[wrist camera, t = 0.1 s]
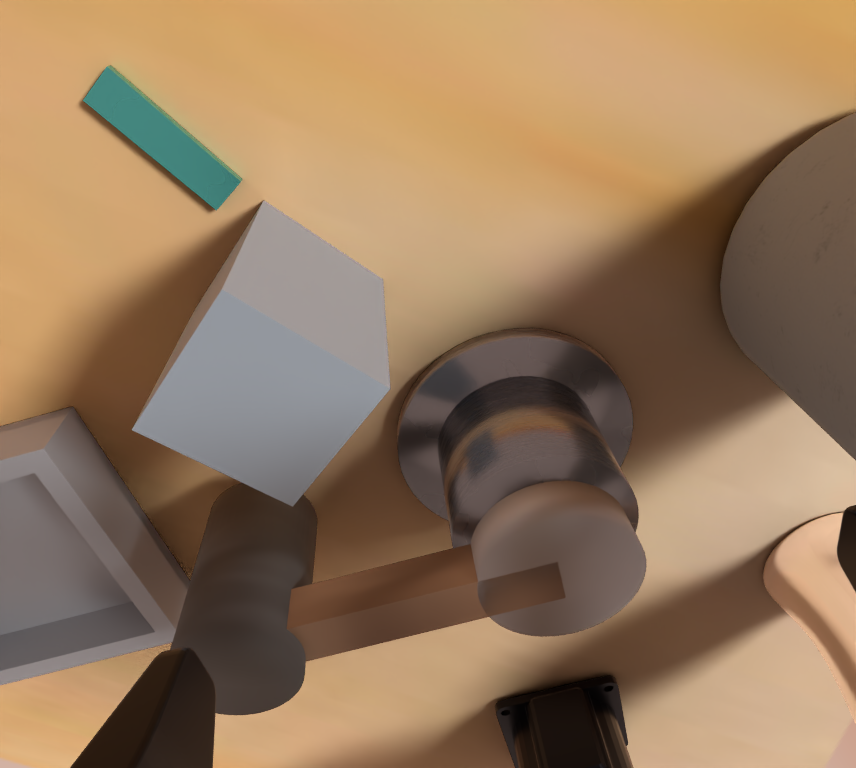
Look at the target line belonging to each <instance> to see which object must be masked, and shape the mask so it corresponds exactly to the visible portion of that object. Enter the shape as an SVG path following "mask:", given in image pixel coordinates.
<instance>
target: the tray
mask: <svg viewBox="0 0 856 768" xmlns="http://www.w3.org/2000/svg"><path fill="white" fill-rule="evenodd" d="M189 584H190V580H189V579H188V577H187V576H186V574H185V573H184V571H183V570H182V568H181V567H180V565H179V564H178V562H177V561H176V559H175V558H174V556H173V555H172V553H171V552H170V550H169V549H168V547H167V546H166V544H165V543H164V541H163V540H162V538H161V537H160V536H159V534H158V533H157V531H156V530H155V528H154V527H153V525H152V524H151V522H150V521H149V519H148V518H147V516H146V515H145V513H144V512H143V510H142V509H141V507H140V506H139V504H138V503H137V501H136V500H135V498H134V497H133V495H132V494H131V492H130V491H129V489H128V488H127V486H126V485H125V483H124V482H123V480H122V479H121V477H120V476H119V474H118V473H117V471H116V470H115V468H114V467H113V465H112V464H111V462H110V461H109V459H108V458H107V456H106V455H105V454H104V452H103V451H102V449H101V448H100V446H99V445H98V443H97V442H96V440H95V439H94V437H93V436H92V434H91V433H90V431H89V430H88V428H87V427H86V425H85V424H84V422H83V421H82V419H81V418H80V416H79V415H78V413H77V412H76V410H75V409H74V407H69V408H65V409H62V410H58V411H55V412H51V413H47V414H44V415H40V416H36V417H33V418H29V419H26V420H22V421H18V422H15V423H11V424H7V425H4V426H0V685H3V684H7V683H11V682H16V681H20V680H24V679H28V678H32V677H36V676H40V675H44V674H48V673H52V672H56V671H60V670H64V669H68V668H72V667H76V666H80V665H84V664H88V663H92V662H96V661H100V660H104V659H108V658H112V657H116V656H120V655H124V654H128V653H132V652H136V651H140V650H144V649H148V648H152V647H156V646H160V645H164V644H168V643H172V642H173V638H174V635H175V632H176V628H177V625H178V621H179V618H180V614H181V611H182V608H183V604H184V601H185V597H186V594H187V590H188V587H189Z"/></svg>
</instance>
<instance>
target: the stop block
mask: <svg viewBox="0 0 856 768" xmlns="http://www.w3.org/2000/svg"><path fill="white" fill-rule="evenodd" d="M389 390H390V375H389V360H388V346H387V331H386V316H385V301H384V286H383V279H382V278H380V277H379V276H377V275H376V274H374V273H373V272H371V271H370V270H368V269H367V268H365V267H364V266H362V265H361V264H359V263H358V262H356V261H355V260H353V259H352V258H350V257H349V256H347V255H346V254H344V253H343V252H341V251H340V250H338V249H337V248H335V247H334V246H332V245H331V244H329V243H327V242H326V241H324V240H323V239H321V238H320V237H318V236H317V235H315V234H314V233H312V232H311V231H309V230H308V229H306V228H305V227H303V226H302V225H300V224H299V223H297V222H296V221H294V220H293V219H291V218H290V217H288V216H287V215H285V214H284V213H282V212H281V211H279V210H278V209H276V208H275V207H273V206H272V205H270V204H269V203H267V202H266V201H263V202H262V204H261V205H260V207H259V209H258V210H257V212H256V213H255V215H254V216H253V218H252V220H251V221H250V223H249V224H248V226H247V228H246V229H245V231H244V232H243V234H242V235H241V237H240V239H239V240H238V242H237V243H236V245H235V247H234V248H233V250H232V251H231V253H230V254H229V256H228V258H227V259H226V261H225V262H224V264H223V266H222V267H221V269H220V270H219V272H218V273H217V275H216V277H215V278H214V280H213V281H212V283H211V285H210V286H209V288H208V289H207V291H206V292H205V294H204V296H203V297H202V299H201V300H200V302H199V304H198V305H197V307H196V308H195V310H194V312H193V314H192V316H191V318H190V320H189V321H188V323H187V325H186V327H185V329H184V331H183V333H182V335H181V337H180V339H179V341H178V342H177V344H176V346H175V348H174V350H173V352H172V354H171V356H170V358H169V360H168V361H167V363H166V365H165V367H164V369H163V371H162V373H161V375H160V377H159V379H158V381H157V382H156V384H155V386H154V388H153V390H152V392H151V394H150V396H149V398H148V400H147V402H146V403H145V405H144V407H143V409H142V411H141V413H140V415H139V417H138V419H137V421H136V422H135V424H134V426H133V428H132V430H133V431H135V432H137V433H139V434H141V435H143V436H145V437H147V438H149V439H152V440H154V441H156V442H158V443H160V444H162V445H164V446H166V447H168V448H170V449H173V450H175V451H177V452H179V453H181V454H183V455H185V456H187V457H189V458H191V459H194V460H196V461H198V462H200V463H202V464H204V465H206V466H208V467H210V468H212V469H215V470H217V471H219V472H221V473H223V474H225V475H227V476H229V477H231V478H233V479H236V480H238V481H240V482H242V483H244V484H246V485H248V486H250V487H252V488H254V489H257V490H259V491H261V492H263V493H265V494H267V495H269V496H271V497H273V498H275V499H278V500H280V501H282V502H284V503H286V504H288V505H290V506H292V507H293V506H294V504H295V503H296V502H297V501H298V500H299V498H300V497H301V496H302V495H303V494H304V492H305V491H306V490H307V489H308V488H309V486H310V485H311V484H312V483H313V482H314V480H315V479H316V478H317V477H318V476H319V474H320V473H321V472H322V471H323V469H324V468H325V467H326V466H327V465H328V463H329V462H330V461H331V460H332V459H333V457H334V456H335V455H336V454H337V453H338V451H339V450H340V449H341V448H342V447H343V445H344V444H345V443H346V442H347V441H348V439H349V438H350V437H351V436H352V434H353V433H354V432H355V431H356V430H357V428H358V427H359V426H360V425H361V424H362V422H363V421H364V420H365V419H366V418H367V416H368V415H369V414H370V413H371V412H372V410H373V409H374V408H375V407H376V406H377V404H378V403H379V402H380V401H381V400H382V398H383V397H384V396H385V395H386V393H387V392H388V391H389Z"/></svg>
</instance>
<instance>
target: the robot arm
mask: <svg viewBox="0 0 856 768" xmlns="http://www.w3.org/2000/svg"><path fill="white" fill-rule="evenodd" d="M837 557H838V561H839V563H840V566H841V568H842V570H843V571H844V573H845V575H846V577H847V578H848V580H849V582H850V583H851V585H852V587H853V589H854V590H855V592H856V505H854V506H850V507H848V508H847V509H846V510H845V511H844V513H843V516H842V522H841V527H840V533H839V539H838V544H837ZM215 710H216V690H215V685H214V682H213V680H212V678H211V676H210V675H209V673H208V672H207V670H206V668H205V667H204V665H203V664H202V662H201V661H200V659H199V657H198V656H197V654H196V653H195V651H194V650H193V649H191V648H189V647H182V648H177V649H173V650H168V651H164V652H162V653H160V654H159V655H158V656H157V657H156V658H155V659H154V660H153V661H152V662H151V664H150V665H149V666H148V668H147V669H146V670H145V672H144V673H143V674H142V675H141V677H140V678H139V679H138V681H137V682H136V683H135V684H134V686H133V687H132V688H131V690H130V691H129V692H128V694H127V695H126V696H125V697H124V699H123V700H122V701H121V703H120V704H119V705H118V706H117V708H116V709H115V710H114V712H113V713H112V714H111V716H110V717H109V718H108V719H107V721H106V722H105V723H104V725H103V726H102V727H101V728H100V730H99V731H98V732H97V734H96V735H95V736H94V738H93V739H92V740H91V741H90V743H89V744H88V745H87V747H86V748H85V749H84V750H83V752H82V753H81V754H80V756H79V757H78V758H77V759H76V761H75V762H74V763H73V765H72V766H71V767H70V768H213V749H214V730H215ZM495 710H496V715H497V718H498V721H499V723H500V726H501V729H502V732H503V735H504V737H505V740H506V743H507V746H508V749H509V751H510V754H511V757H512V760H513V763H514V765H515V768H633V765H632V762H631V759H630V756H629V753H628V750H627V747H626V746H627V745H628V739H627V734H626V728H625V722H624V717H623V711H622V705H621V699H620V694H619V688H618V684H617V682H616V679H615V677H613V676H604V677H599V678H595V679H591V680H587V681H582V682H578V683H574V684H570V685H566V686H561V687H557V688H553V689H549V690H544V691H540V692H536V693H532V694H527V695H523V696H519V697H515V698H510V699H506V700H502V701H499V702H498V703H497V704H496V705H495Z"/></svg>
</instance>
